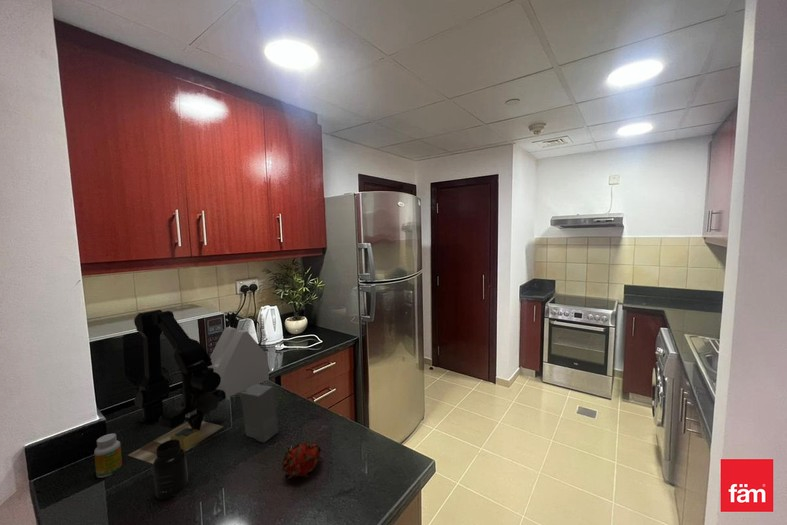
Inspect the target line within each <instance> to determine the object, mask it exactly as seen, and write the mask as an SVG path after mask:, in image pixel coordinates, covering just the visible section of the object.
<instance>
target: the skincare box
mask: <svg viewBox="0 0 787 525" xmlns="http://www.w3.org/2000/svg"><path fill="white" fill-rule="evenodd" d="M239 394H240V400H241V408H242V416H243V423H244V432H245V436H247V437H249V438H252V439H255V441H257V442H259V443H264V444H265V443H266V442H267V441H269V440H270V439H271V438H272V437H274V436H275V435H276V434H278V433H279V431H280V430H279V424H278V415H277V409H276V408H277V407H276V400H275V392H274V386H270V385H266V384H265V385H264V384H255V385H253V386H251V387H249V388H248V389H246V390H244V391H242V392H239Z"/></svg>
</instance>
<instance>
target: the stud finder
mask: <svg viewBox="0 0 787 525" xmlns="http://www.w3.org/2000/svg"><path fill="white" fill-rule="evenodd" d="M173 439H177V440H179V441H180V446H181V449H184V450H185V449H186V448H188V447H190V446H191V445H193V444H194V443H196V442H197V441H199V440H200V430H196V429H192V428H188V427H185V428H184V429H182V430H180V431H178V432H177V433H175V434H173V435H172V436H170V440H173Z"/></svg>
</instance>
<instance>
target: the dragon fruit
mask: <svg viewBox="0 0 787 525" xmlns="http://www.w3.org/2000/svg"><path fill="white" fill-rule="evenodd" d="M321 450H322V449H321V447H320V446H319V444H318V443H312V444H310V443H309V442H307V441H305V442H304V443H302V444H300V443H298V444H297V443H296V444H295V446H294V447H288V448H287V451H286V452H285V453H284V456H283V458H282V463H281V464H282V469H281V470H282V472H284V473H285V479H290V478H295V479H297V478H298V477H302V478H305V479H307V478H308V477H309V476H308V475H309V474H308V473H310V472H312V471H314V470H315V467H317V464H318V462H319V460H320V459H321V457H320V455H321ZM287 473H288V474H287Z"/></svg>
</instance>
